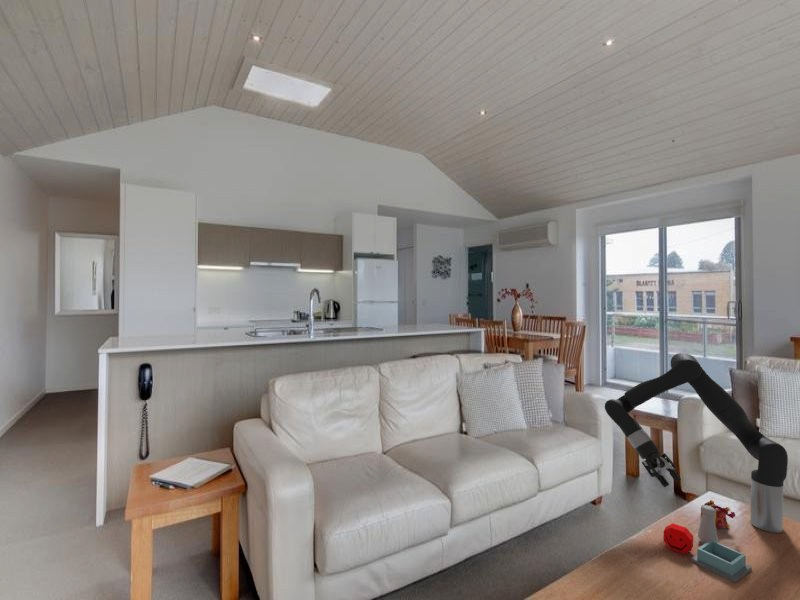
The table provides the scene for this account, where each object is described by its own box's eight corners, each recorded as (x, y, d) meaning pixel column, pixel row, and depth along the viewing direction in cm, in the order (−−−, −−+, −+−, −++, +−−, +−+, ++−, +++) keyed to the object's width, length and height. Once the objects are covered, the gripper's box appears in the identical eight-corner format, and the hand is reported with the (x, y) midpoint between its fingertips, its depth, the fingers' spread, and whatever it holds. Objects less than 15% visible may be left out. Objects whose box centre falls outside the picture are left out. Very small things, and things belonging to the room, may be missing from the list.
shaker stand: (708, 549, 143) (708, 537, 143) (751, 569, 133) (751, 555, 133) (691, 561, 137) (691, 547, 137) (734, 582, 127) (735, 568, 127)
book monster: (711, 518, 163) (744, 537, 152) (694, 522, 161) (726, 541, 149) (713, 492, 163) (746, 509, 151) (695, 496, 160) (727, 513, 149)
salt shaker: (721, 549, 144) (722, 512, 144) (702, 547, 145) (703, 510, 145) (712, 539, 149) (712, 503, 149) (694, 537, 151) (695, 502, 150)
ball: (661, 549, 144) (662, 527, 143) (667, 539, 149) (667, 518, 149) (689, 559, 138) (690, 537, 138) (694, 549, 144) (694, 527, 144)
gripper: (639, 442, 161) (670, 483, 151) (659, 436, 168) (690, 475, 158) (626, 451, 165) (655, 492, 156) (645, 445, 173) (675, 483, 163)
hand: (673, 483), depth 157 cm, fingers open, 8 cm apart
